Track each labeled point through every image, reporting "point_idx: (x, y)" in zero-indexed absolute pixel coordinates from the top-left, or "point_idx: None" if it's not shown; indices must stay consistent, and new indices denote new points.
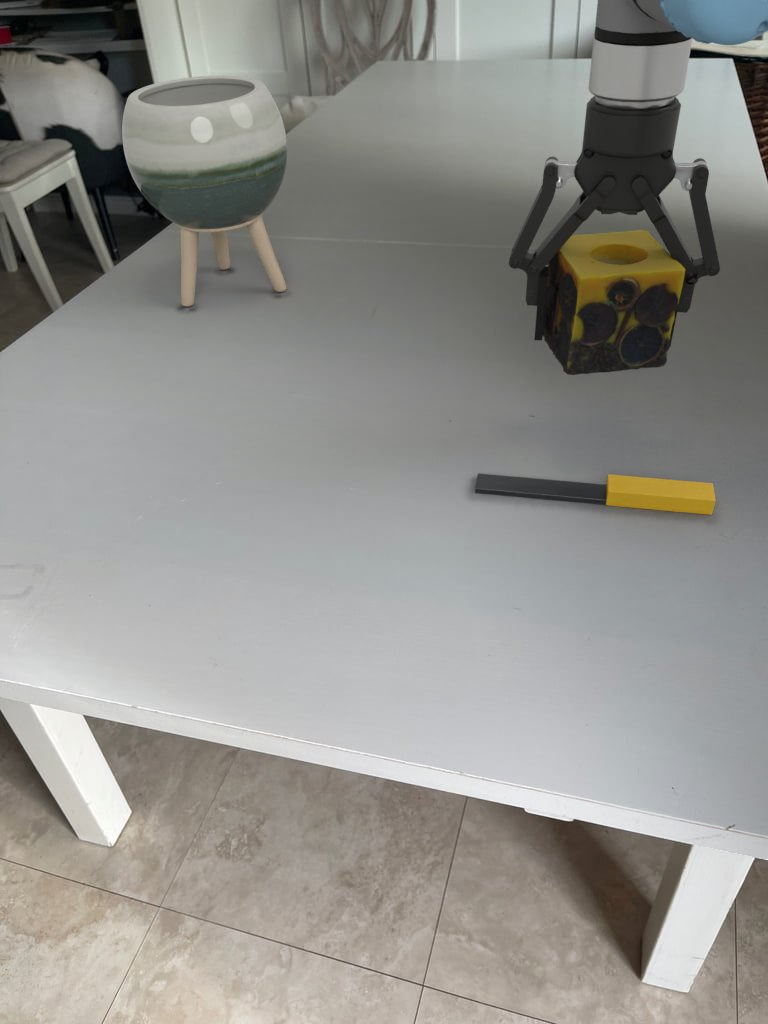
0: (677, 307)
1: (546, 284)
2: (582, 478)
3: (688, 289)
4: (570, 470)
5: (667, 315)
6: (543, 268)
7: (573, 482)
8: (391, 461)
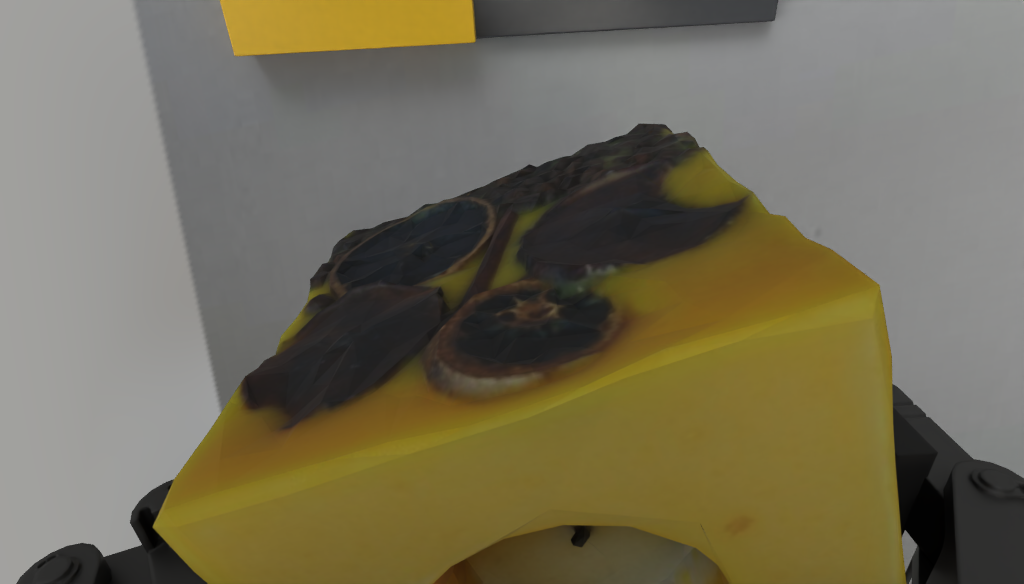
0: None
1: None
2: (530, 70)
3: None
4: (558, 97)
5: (306, 337)
6: (955, 495)
7: (551, 29)
8: (971, 48)
